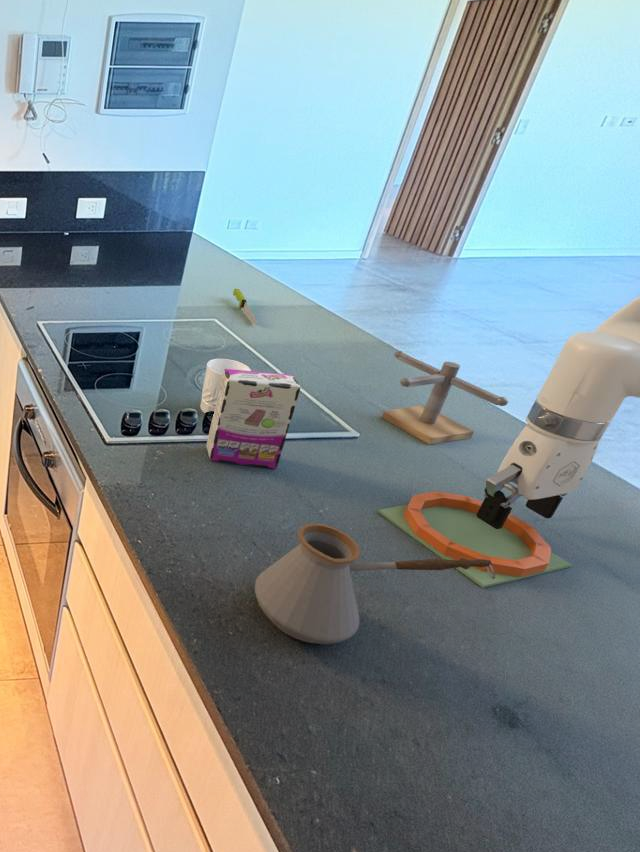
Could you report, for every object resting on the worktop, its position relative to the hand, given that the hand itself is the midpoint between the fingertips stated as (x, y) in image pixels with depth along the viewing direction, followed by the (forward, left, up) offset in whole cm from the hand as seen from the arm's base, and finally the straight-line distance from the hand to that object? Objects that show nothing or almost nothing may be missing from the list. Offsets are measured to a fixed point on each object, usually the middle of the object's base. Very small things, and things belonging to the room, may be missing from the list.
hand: (513, 517), depth 92 cm
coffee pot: (+39, +9, -3) cm, 40 cm away
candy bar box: (+26, -26, -3) cm, 37 cm away
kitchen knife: (-24, -86, -3) cm, 89 cm away
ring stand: (-13, -26, -2) cm, 29 cm away
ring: (+7, 0, -1) cm, 7 cm away
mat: (+7, 0, -2) cm, 8 cm away
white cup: (+19, -41, -3) cm, 45 cm away
